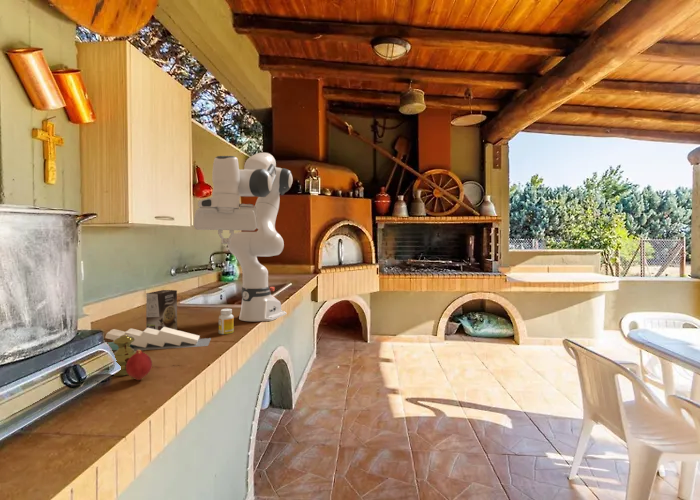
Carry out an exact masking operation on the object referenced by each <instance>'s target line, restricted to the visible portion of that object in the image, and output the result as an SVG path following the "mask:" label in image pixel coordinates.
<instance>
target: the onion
mask: <svg viewBox="0 0 700 500" xmlns="http://www.w3.org/2000/svg"><path fill="white" fill-rule="evenodd" d="M152 362H153V361H152V359H151V357H150V356H149V355H148V354H147V353H145V352H143V350H137V351H136V353H135V354H134V355H132V356H131V357H130V358H129V360H128V361H127V364H126V372H127V373H128V375H127V376H130V377H131V378H133V379H135V380H136V381H141V380H142V379H144V378H145V377H146V376H147V375H148V374H150V372H151V370H152V366H153V363H152Z"/></svg>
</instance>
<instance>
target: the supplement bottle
mask: <svg viewBox="0 0 700 500" xmlns="http://www.w3.org/2000/svg"><path fill="white" fill-rule="evenodd" d="M232 313H233V309H232V308H222V309H221V310H220V314H219V315H218V334H219V335H230V334H233V333H234V332H235V331H234V325H235V324H234V321H235V319H234V317H235V316H234V315H233V314H232Z"/></svg>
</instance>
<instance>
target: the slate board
mask: <svg viewBox="0 0 700 500" xmlns="http://www.w3.org/2000/svg"><path fill="white" fill-rule="evenodd" d="M211 340H212V337H209V338H208V337H207V338H206V337H205V338H199V340H198V342H197V344H196V345H194V344H190V343H186V342H182V343H181V345H180V346H178V345H174V344H170V343H166V344H165V345H164V346H163V347H161V346H157V345H153V344H149V345H148V346H147V347H146V348H144V347H140V346H136V345H133V346H132V347H131V348H132V349H134V351H137V350H141V351H147V350H148V351H149V350H151V351H152V350H167V349H181V348H198V347H199V348H200V347H208V346H209V345H210V342H211Z"/></svg>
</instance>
